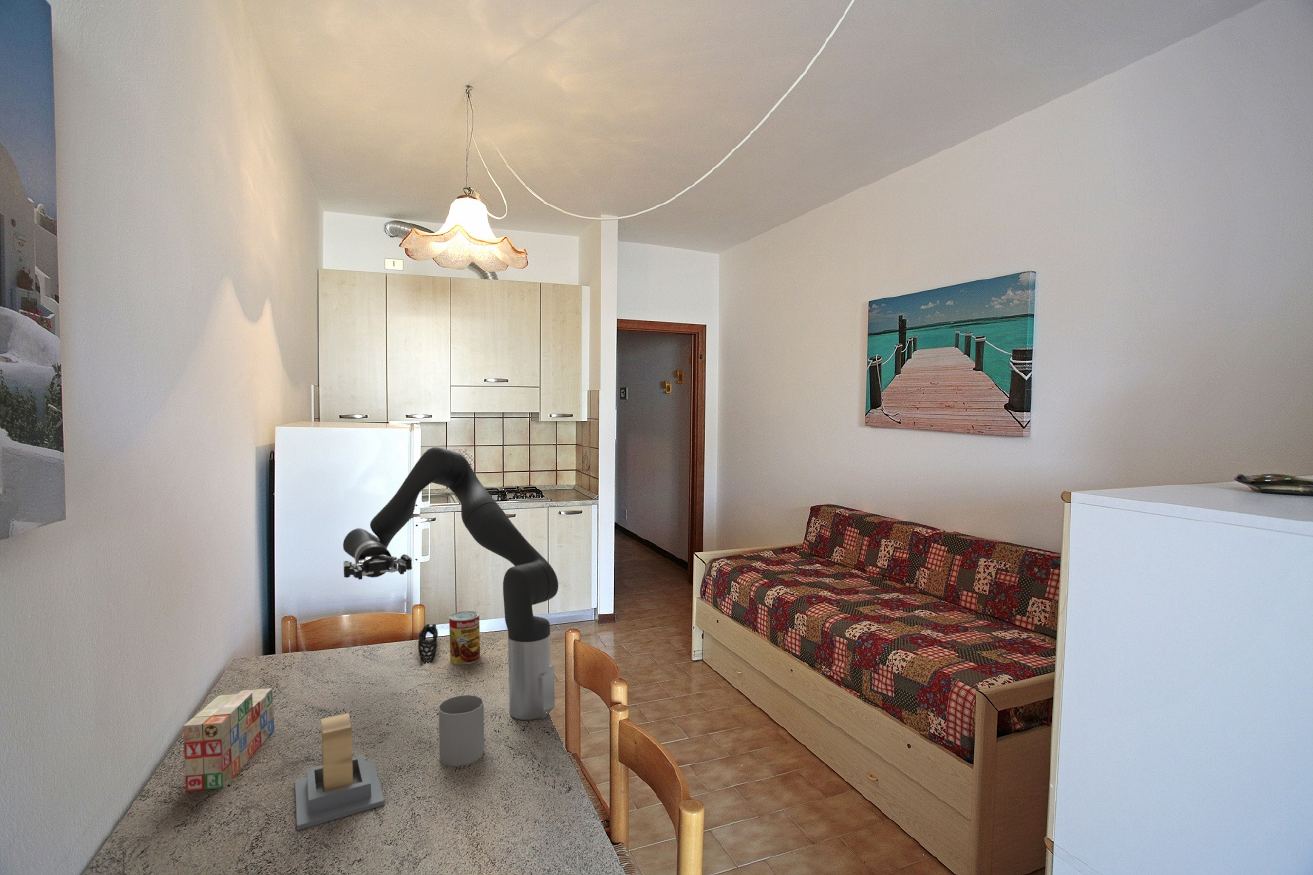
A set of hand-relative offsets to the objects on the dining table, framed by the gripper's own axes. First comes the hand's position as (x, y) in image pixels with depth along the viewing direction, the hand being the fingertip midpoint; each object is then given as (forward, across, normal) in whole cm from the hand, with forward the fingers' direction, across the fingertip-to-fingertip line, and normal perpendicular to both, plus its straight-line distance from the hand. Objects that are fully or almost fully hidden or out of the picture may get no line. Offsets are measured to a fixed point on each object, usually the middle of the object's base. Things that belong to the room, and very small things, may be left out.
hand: (381, 572), depth 141 cm
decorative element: (-37, +16, +32) cm, 52 cm away
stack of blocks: (+4, -28, +32) cm, 43 cm away
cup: (+26, +11, +32) cm, 43 cm away
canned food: (-24, +23, +32) cm, 46 cm away
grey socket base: (+28, -11, +32) cm, 44 cm away
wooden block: (+28, -11, +31) cm, 43 cm away
